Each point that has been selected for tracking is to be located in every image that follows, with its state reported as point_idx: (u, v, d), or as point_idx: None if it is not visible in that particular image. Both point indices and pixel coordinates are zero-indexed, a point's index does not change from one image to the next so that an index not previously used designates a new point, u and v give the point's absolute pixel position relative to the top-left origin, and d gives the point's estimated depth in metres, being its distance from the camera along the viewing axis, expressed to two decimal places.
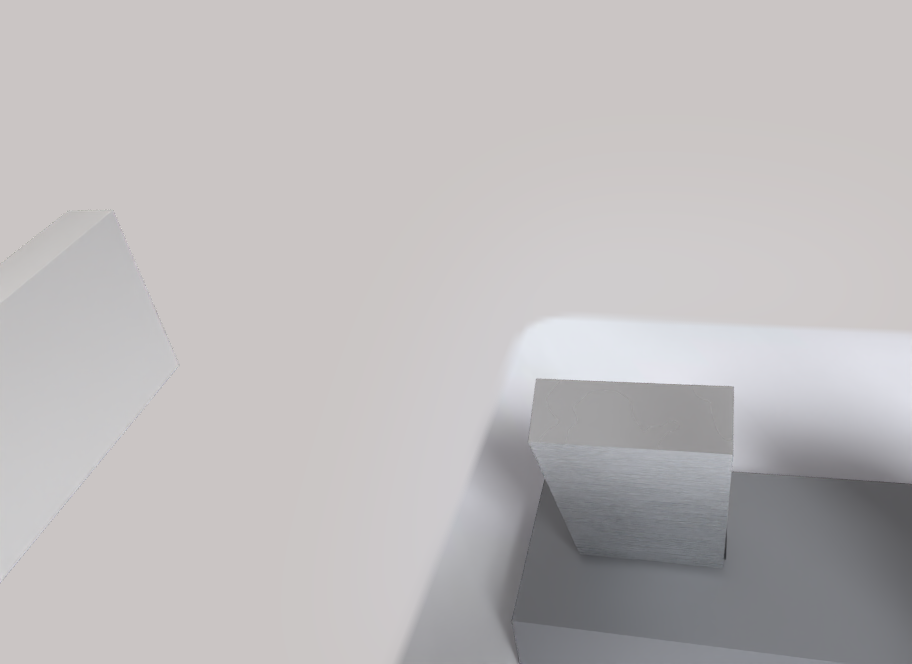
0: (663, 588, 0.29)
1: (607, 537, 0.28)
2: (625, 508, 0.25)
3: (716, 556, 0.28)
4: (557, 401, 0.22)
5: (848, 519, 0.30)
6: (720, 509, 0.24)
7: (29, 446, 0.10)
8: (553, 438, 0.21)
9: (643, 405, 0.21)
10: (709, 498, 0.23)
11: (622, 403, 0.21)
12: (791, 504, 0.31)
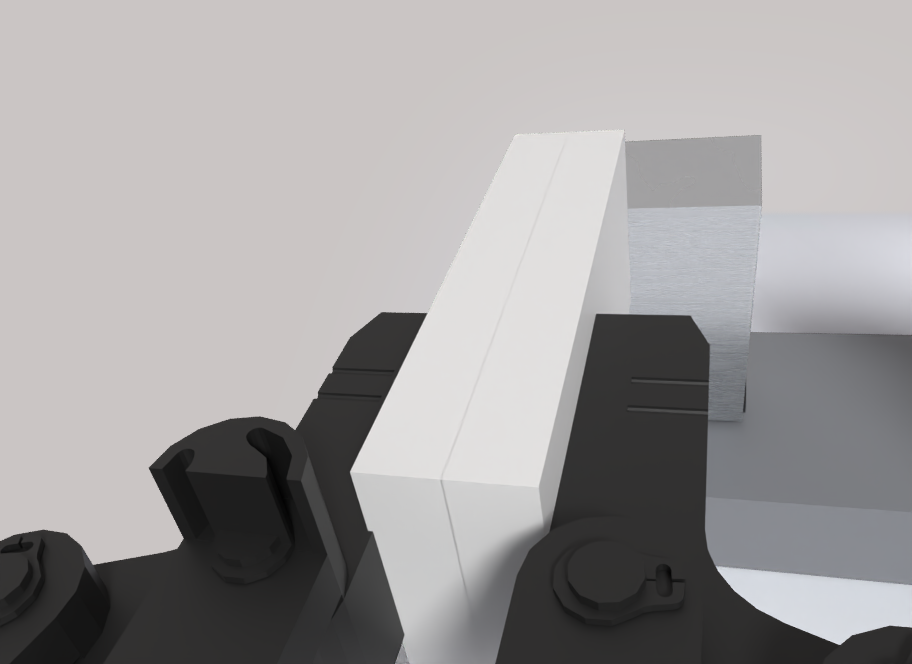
0: None
1: None
2: None
3: (734, 401, 0.25)
4: None
5: (883, 372, 0.27)
6: (743, 314, 0.20)
7: None
8: None
9: (652, 163, 0.18)
10: (730, 295, 0.20)
11: (627, 163, 0.18)
12: (817, 360, 0.28)
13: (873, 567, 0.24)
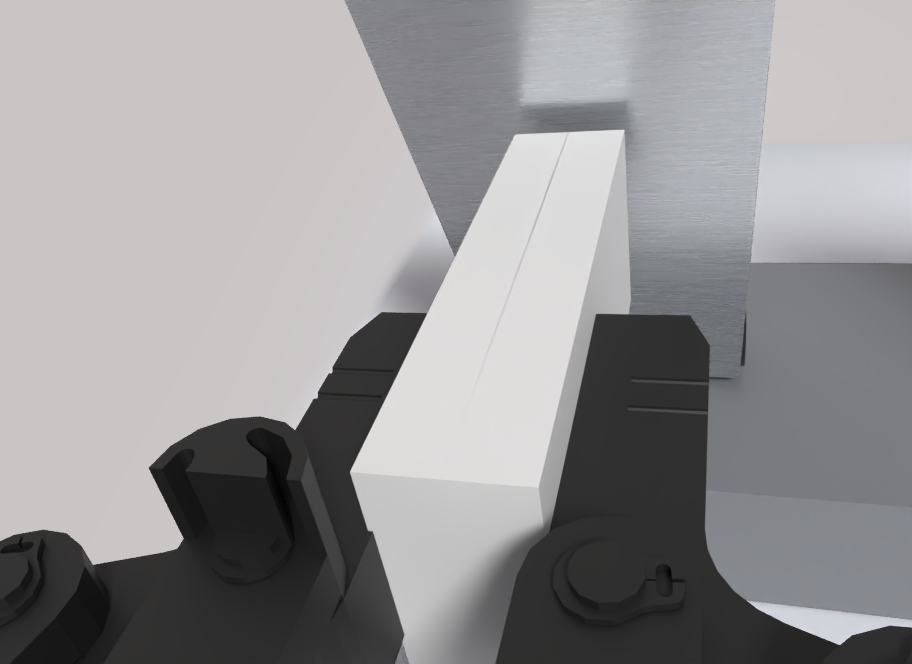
0: None
1: None
2: None
3: (729, 343, 0.16)
4: None
5: None
6: (744, 166, 0.12)
7: None
8: None
9: None
10: (722, 123, 0.11)
11: None
12: (848, 297, 0.19)
13: None
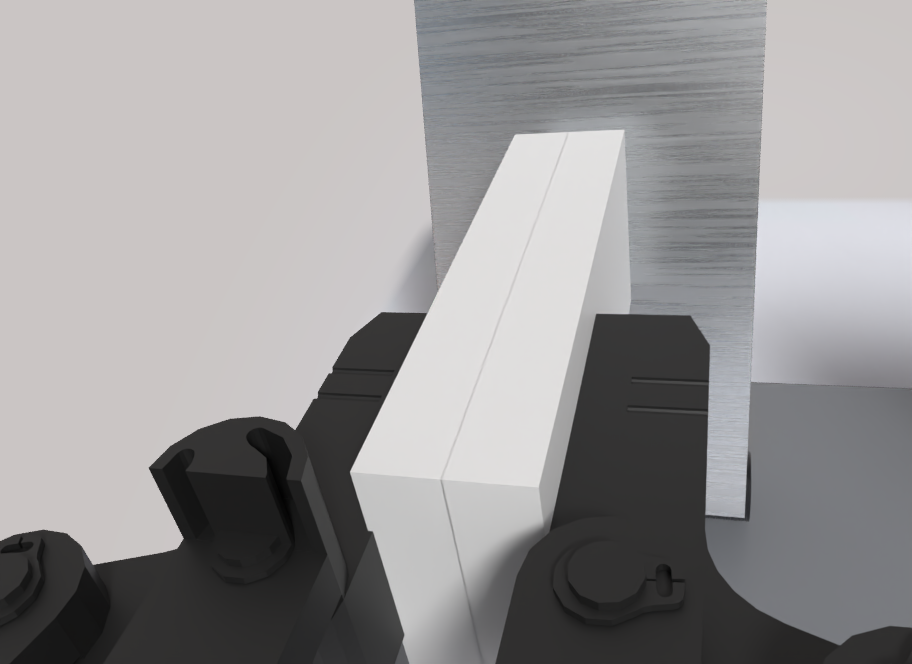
0: None
1: None
2: None
3: (731, 436, 0.13)
4: None
5: None
6: (748, 99, 0.12)
7: None
8: None
9: None
10: (727, 36, 0.12)
11: None
12: (873, 436, 0.16)
13: None
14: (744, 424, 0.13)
